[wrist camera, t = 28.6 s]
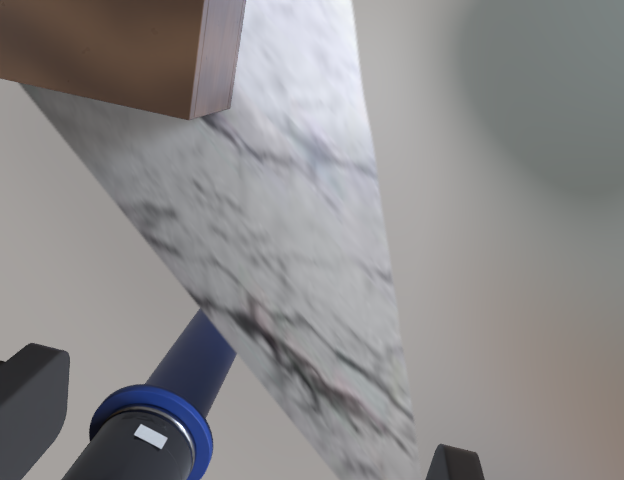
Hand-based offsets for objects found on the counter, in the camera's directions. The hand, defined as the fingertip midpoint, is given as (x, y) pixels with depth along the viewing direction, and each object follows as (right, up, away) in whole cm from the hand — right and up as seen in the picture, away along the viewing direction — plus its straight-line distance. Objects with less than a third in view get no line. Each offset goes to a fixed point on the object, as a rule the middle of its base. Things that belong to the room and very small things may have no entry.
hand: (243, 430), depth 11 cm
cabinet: (-9, +21, +26) cm, 35 cm away
